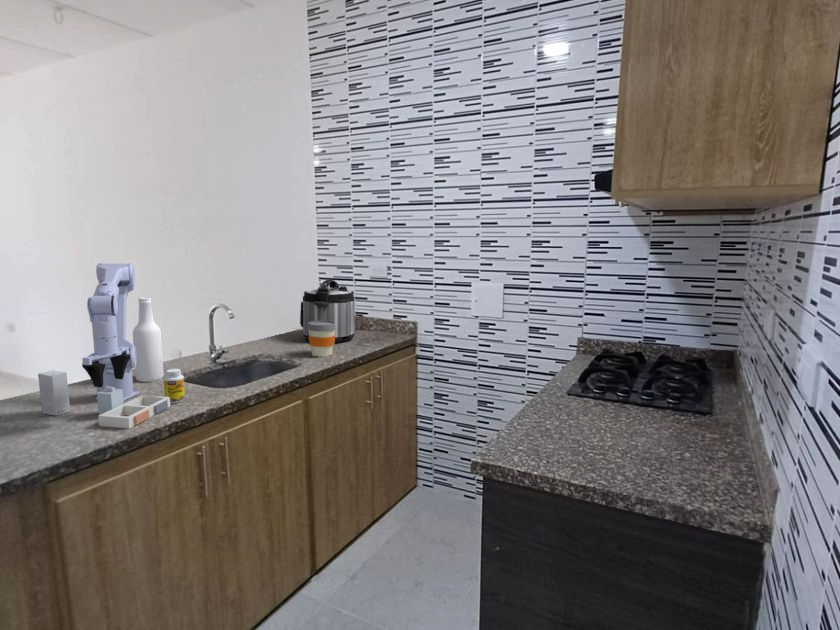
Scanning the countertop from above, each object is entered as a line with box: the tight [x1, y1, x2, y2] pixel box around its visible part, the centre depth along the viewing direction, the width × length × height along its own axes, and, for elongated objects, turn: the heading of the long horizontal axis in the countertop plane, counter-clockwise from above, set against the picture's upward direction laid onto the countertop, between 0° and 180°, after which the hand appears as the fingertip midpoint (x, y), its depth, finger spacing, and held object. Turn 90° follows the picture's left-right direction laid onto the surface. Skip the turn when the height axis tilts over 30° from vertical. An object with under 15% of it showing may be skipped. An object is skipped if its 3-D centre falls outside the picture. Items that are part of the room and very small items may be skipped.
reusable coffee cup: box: [308, 321, 336, 357], centre depth 206 cm, size 13×13×15 cm
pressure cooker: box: [299, 279, 356, 343], centre depth 238 cm, size 30×28×32 cm
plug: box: [96, 386, 125, 416], centre depth 132 cm, size 4×4×8 cm
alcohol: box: [132, 296, 165, 383], centre depth 162 cm, size 9×9×30 cm
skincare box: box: [37, 370, 71, 417], centre depth 131 cm, size 6×4×12 cm
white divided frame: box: [97, 394, 171, 429], centre depth 131 cm, size 10×17×3 cm, turn 174°
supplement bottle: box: [163, 368, 186, 405], centre depth 143 cm, size 6×6×10 cm
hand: (109, 382), depth 131 cm, fingers open, 7 cm apart
